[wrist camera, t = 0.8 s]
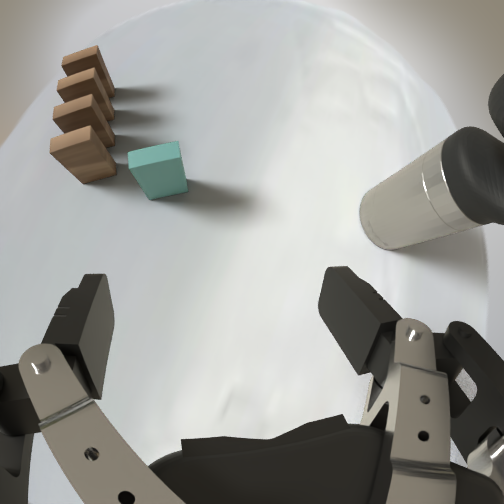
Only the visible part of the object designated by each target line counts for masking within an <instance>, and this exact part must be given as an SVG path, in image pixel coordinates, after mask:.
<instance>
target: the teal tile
mask: <svg viewBox="0 0 504 504" xmlns="http://www.w3.org/2000/svg"><path fill="white" fill-rule="evenodd" d="M128 164H129V170H130V171H131V173H132V174H133V176H134V177H135V179H136V181H137V182H138V184H139V185H140V187H141V188H142V190H143V191H144V193H145V194H146V196H147V197H148V199H149V200H152V199H156V198H161V197H165V196H170V195H175V194H180V193H185V192H188V187H187V181H186V176H185V172H184V167H183V162H182V157H181V153H180V148H179V143H178V141H175V142H170V143H165V144H161V145H156V146H152V147H147V148H143V149H139V150H134V151H130V152H128Z"/></svg>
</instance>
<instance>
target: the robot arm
mask: <svg viewBox="0 0 504 504" xmlns="http://www.w3.org/2000/svg"><path fill="white" fill-rule="evenodd" d="M488 106H489V113H490V115H491V118H492V120H493V121H494V123H495V125H496V126H497V128H498V130H499V131H500V133H501V134H502V136H503V137H504V74H503V75H502V76H501V77H500V79H499V80H498V81H497V82H496V84H495V85H494V87H493V88H492V91H491V93H490V96H489V101H488ZM360 220H361V224H362V227H363V229H364V231H365V233H366V235H367V236H368V238H369V239H370V240H371V241H372V242H373V243H374V244H376V245H377V246H378V247H381V248H383V249H387V250H394V249H399V248H402V247H406V246H410V245H414V244H418V243H422V242H425V241H429V240H433V239H436V238H440V237H443V236H447V235H451V234H454V233H458V232H461V231H465V230H468V229H471V228H475V227H478V226H482V225H485V224H489V223H498V224H501V225H504V143H503V142H501V141H499V140H498V139H496V138H495V137H493V136H492V135H490V134H489V133H487V132H486V131H484V130H482V129H479V128H476V127H464V128H462V129H460V130H458V131H456V132H455V133H454V134H452V135H451V136H449V137H448V138H446V139H445V140H443V141H442V142H440V143H439V144H438V145H436V146H435V147H433V148H432V149H430V150H429V151H427V152H426V153H425V154H423V155H422V156H420V157H419V158H417V159H416V160H414V161H413V162H411V163H410V164H408V165H407V166H405V167H404V168H402V169H401V170H399V171H398V172H396V173H395V174H393V175H392V176H390V177H389V178H387V179H386V180H384V181H383V182H381V183H380V184H378V185H377V186H375V187H374V188H372V189H371V190H369V191H368V192H367V193H366V194H365V196H364V197H363V199H362V202H361V205H360ZM318 309H319V314H320V316H321V318H322V319H323V321H324V323H325V324H326V326H327V327H328V329H329V330H330V332H331V333H332V335H333V336H334V338H335V340H336V341H337V343H338V344H339V346H340V347H341V349H342V351H343V352H344V354H345V355H346V357H347V358H348V360H349V362H350V363H351V365H352V366H353V368H354V369H355V371H356V373H357V374H358V375H362V374H366V373H370V372H371V373H372V375H373V376H372V378H371V380H370V382H369V387H368V392H367V397H366V402H365V407H364V411H363V416H362V420H361V423H360V424H348V423H347V422H346V420H345V418H344V416H343V414H341V415H337V416H333V417H329V418H325V419H321V420H317V421H313V422H309V423H306V424H304V425H302V426H300V427H298V428H295V429H293V430H291V431H289V432H287V433H284V434H282V435H280V436H278V437H275V438H273V439H267V440H265V439H248V438H236V437H226V436H222V437H211V438H197V439H181V444H182V450H180V451H177V452H173V453H171V454H168V455H166V456H164V457H162V458H160V459H158V460H156V461H155V462H153V463H152V464H150V465H149V466H147V465H146V464H145V463H144V462H143V461H142V460H141V459H140V458H139V456H138V455H137V454H136V453H135V452H134V451H133V450H132V448H131V447H130V446H129V445H128V444H127V443H126V441H125V440H124V439H123V438H122V436H121V435H120V434H119V433H118V432H117V430H116V429H115V428H114V426H113V425H112V424H111V423H110V421H109V420H108V419H107V417H106V416H105V415H104V413H103V412H102V411H101V409H100V408H99V406H98V405H97V404H96V402H95V401H94V400H93V399H98V400H101V398H102V391H103V384H104V378H105V372H106V366H107V360H108V355H109V350H110V345H111V340H112V335H113V330H114V310H113V305H112V301H111V295H110V290H109V285H108V279H107V276H106V274H85V275H84V277H83V279H82V281H81V283H80V285H79V287H78V288H72V289H71V290H70V291H68V292H67V293H66V294H65V295H64V296H63V297H62V299H61V301H60V303H59V305H58V308H57V309H56V311H55V313H54V316H53V318H52V320H51V322H50V324H49V327H48V329H47V331H46V333H45V336H44V338H43V340H42V343H41V344H38V345H35V346H32V347H31V348H29V349H28V350H26V351H25V352H24V353H23V355H22V356H21V358H20V360H19V363H18V364H13V365H7V366H2V367H0V504H28V485H29V471H30V461H31V452H32V444H33V437H34V433H39V432H42V434H43V436H44V438H45V440H46V442H47V444H48V446H49V448H50V450H51V451H52V453H53V455H54V457H55V459H56V460H57V462H58V464H59V465H60V467H61V469H62V470H63V472H64V474H65V475H66V477H67V479H68V480H69V482H70V483H71V485H72V486H73V488H74V489H75V491H76V492H77V494H78V495H79V497H80V498H81V499H82V501H83V502H84V504H504V361H503V360H502V359H501V357H500V356H499V355H498V354H497V353H496V352H495V351H494V350H493V349H492V347H491V346H490V345H489V344H488V343H487V342H486V341H485V340H484V339H483V338H482V337H481V336H480V335H479V334H478V332H477V331H476V330H475V329H474V328H472V327H471V326H470V325H468V324H466V323H464V322H460V321H453V322H451V323H450V324H449V326H448V328H447V330H446V332H445V333H432V331H431V330H430V328H429V327H428V326H427V325H425V324H424V323H422V322H420V321H418V320H415V319H411V318H405V319H402V318H401V316H400V315H399V314H398V313H397V312H396V311H395V310H394V309H393V308H392V307H391V306H390V305H389V304H388V303H387V302H386V300H383V297H382V296H381V295H380V294H379V293H377V291H376V290H375V289H374V288H373V287H372V286H371V285H370V284H369V283H367V282H365V281H364V280H362V279H360V278H359V277H358V276H357V275H356V274H355V273H354V272H353V271H352V270H351V269H350V268H349V267H347V266H338V267H328V268H327V269H326V272H325V275H324V280H323V284H322V289H321V293H320V297H319V302H318ZM463 368H464V369H465V371H466V372H467V373H468V374H469V376H470V377H471V378H472V380H473V381H474V382H475V384H476V386H477V394H476V397H475V398H474V399H473V401H472V402H470V400H469V399H468V397H467V396H466V395H465V393H464V392H463V391H462V389H461V388H460V386H459V385H458V384H457V382H456V381H455V379H456V378H457V376H458V375H459V373H460V372H461V370H462V369H463ZM450 436H451V438H452V440H453V441H454V443H455V445H456V446H457V448H458V450H459V451H460V453H461V455H462V456H463V458H464V460H465V461H466V463H467V465H468V467H467V468H465V467H463V466H460V465H458V464H455V463H453V462H450Z"/></svg>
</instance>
